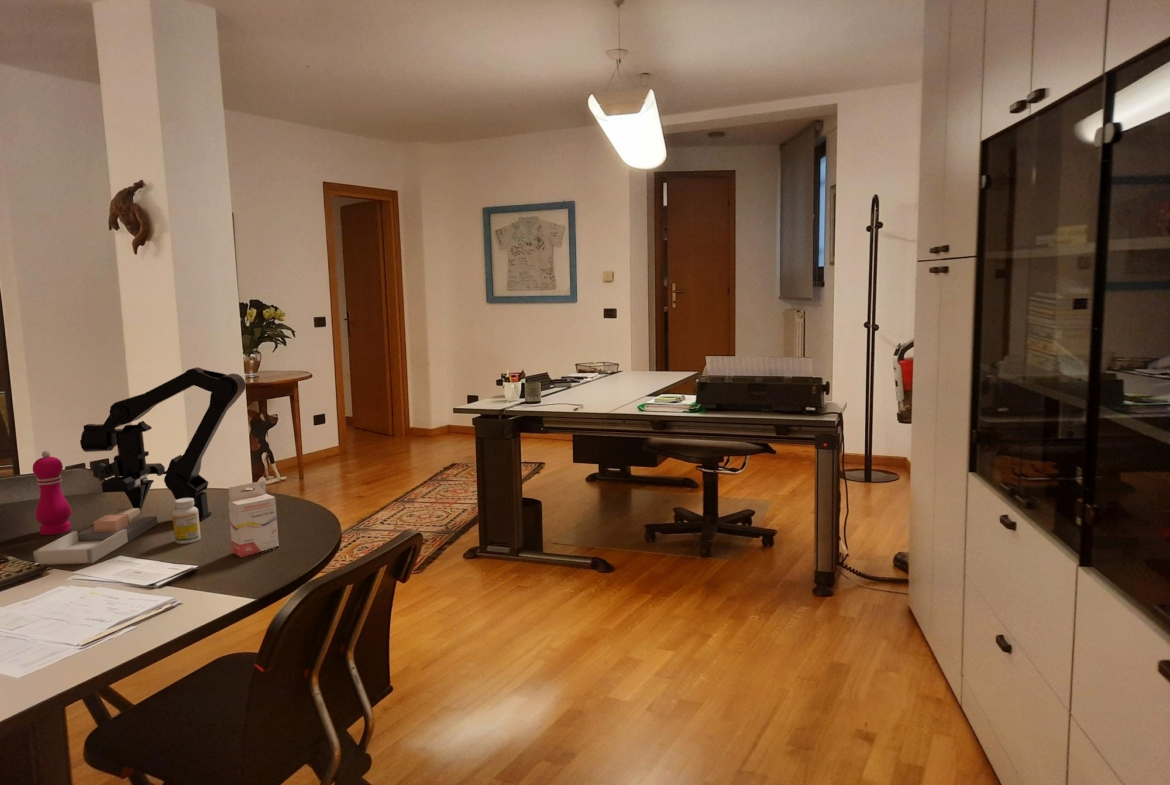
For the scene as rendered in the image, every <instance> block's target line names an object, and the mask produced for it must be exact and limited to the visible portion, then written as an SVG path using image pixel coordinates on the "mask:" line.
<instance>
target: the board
mask: <svg viewBox="0 0 1170 785" xmlns="http://www.w3.org/2000/svg"><path fill="white" fill-rule="evenodd" d="M156 524H157V525H158V524H159V523H158V516H156V515H155V516H153V515H152V516H140V519H138V520H136V521H134V522H132V523H131V524H128V525H127V526H125V527H123V528H122V529H120V530H118V531H112V532H95V530H94V524H93V525H91V526H89V527H88V528H86V529H84V530H81V531H80V532H77V533H78V541H79V542H91V541H103V540H105V539H107V538H109V537H110V536H112V535H114V534H116V533H117V532H119V531H121V530H123V529H127V538H128V542H130V541H132V540H134V539H135V538H137V537H139V536H140V535H142V534H143V533H146V532H147V531H149V530H151V528H154V527H156V526H157V525H156ZM155 525H156V526H155ZM153 526H154V527H153ZM148 529H149V530H148Z"/></svg>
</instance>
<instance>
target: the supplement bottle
mask: <svg viewBox="0 0 1170 785" xmlns="http://www.w3.org/2000/svg"><path fill="white" fill-rule="evenodd" d="M194 504H195V503H194V499H193V498H182V499H178V500H176V499H175V500H174V507H176V508H177V509H174V510H173V511H172V514H171V515H172V524H173V532H174V541H175V543H176V544H179V545H181V544H183V545H184V544H185V545H186V544H192V543H195V542H197V541H200V540H201V538H202V536H201V525H200V521H199V513H198V509H197V508H196V507H194V506H193V505H194Z"/></svg>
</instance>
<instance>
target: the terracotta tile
mask: <svg viewBox="0 0 1170 785" xmlns="http://www.w3.org/2000/svg"><path fill="white" fill-rule="evenodd" d="M93 525H94V530H95V532H112V531H118V530H120V529H122V528H123V527H125V526H127V525H128V518H127V515H108V514H106V515H104V516H102V517H100V518H98V519H96V520H94V521H93Z"/></svg>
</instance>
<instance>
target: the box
mask: <svg viewBox="0 0 1170 785" xmlns="http://www.w3.org/2000/svg"><path fill="white" fill-rule="evenodd" d="M78 533H79V532H78V531H77V530H73V531H71V532H69V533H68V534H66V535H64V536H62V537H60V538H59V537H58V538H57V539H55V540H53V541H52V542H50V543H47V544H46V545H43V546H42V547H39V548H37V549H36V550H34V551H33V552H32V553H33V559H34V560H33V561H34V564H35V563H42V564H46V565H49V566H50V565H75V564H76V565H77V564H78V565H79V564H93V563H95V562H97V561H99V559H102V558H104V557H105V556H106V555H108V554H110V553H112V552H113V551H116V550H117V549H119V548H120V547H122V546H123V545H126V543H128V542H129V541H128V538H127V529H123V530H121V531H119V532H117V533H116V534H114V535H112V536H110V537H109V538H107V539H105V540H103V541H91V542H79V541H78ZM46 565H45V566H46Z"/></svg>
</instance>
